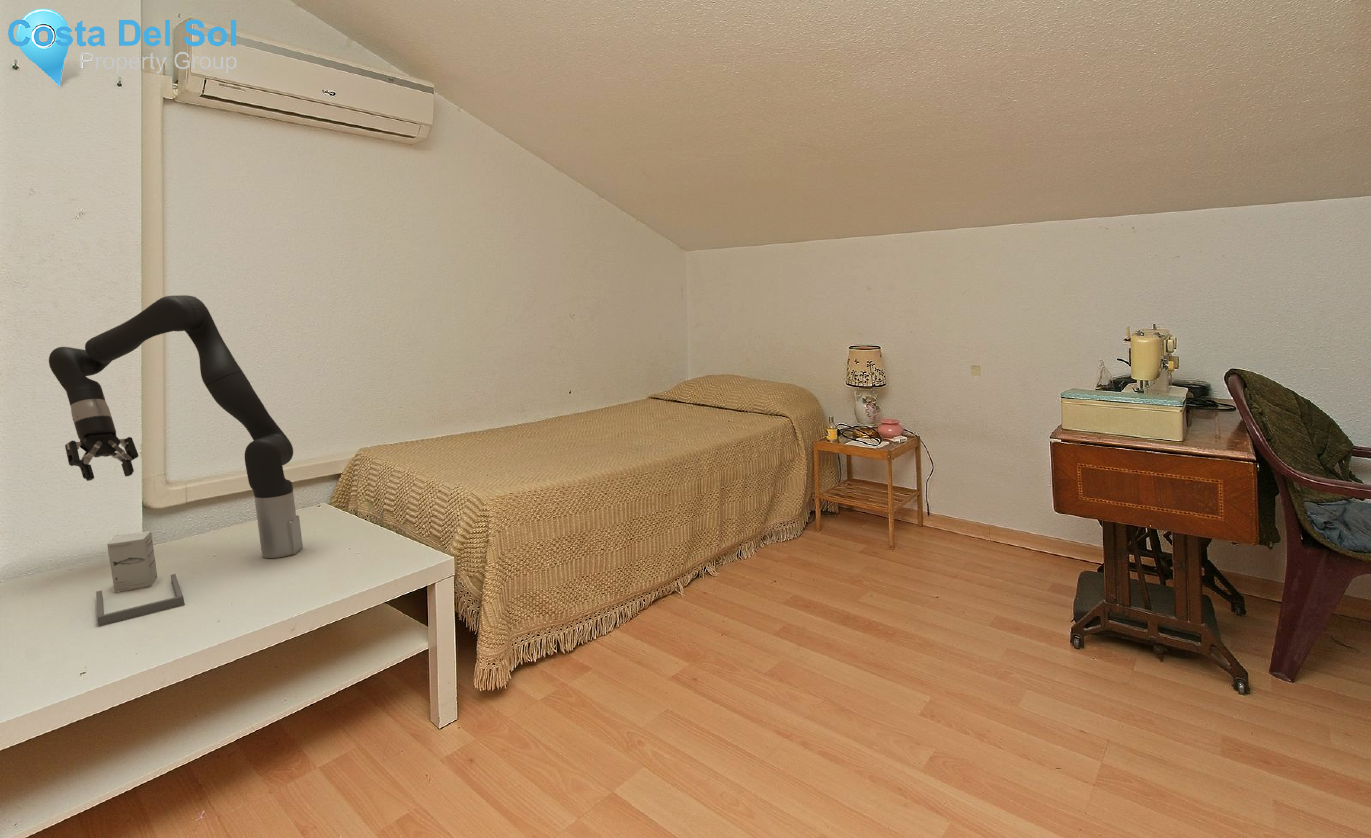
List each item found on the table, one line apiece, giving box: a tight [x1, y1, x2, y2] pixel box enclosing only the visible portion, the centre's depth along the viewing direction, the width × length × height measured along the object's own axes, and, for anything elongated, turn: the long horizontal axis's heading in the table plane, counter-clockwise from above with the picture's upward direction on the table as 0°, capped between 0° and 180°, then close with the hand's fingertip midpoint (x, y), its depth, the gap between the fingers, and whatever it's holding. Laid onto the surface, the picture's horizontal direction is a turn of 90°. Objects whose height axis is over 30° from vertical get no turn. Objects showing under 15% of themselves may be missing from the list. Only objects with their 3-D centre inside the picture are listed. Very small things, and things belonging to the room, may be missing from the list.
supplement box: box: [107, 530, 158, 593], centre depth 163 cm, size 7×7×13 cm
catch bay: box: [95, 573, 185, 627], centre depth 154 cm, size 18×15×2 cm
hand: (110, 477), depth 170 cm, fingers open, 8 cm apart
